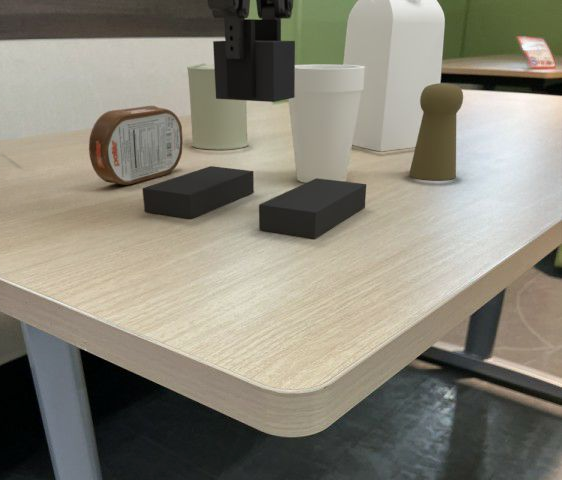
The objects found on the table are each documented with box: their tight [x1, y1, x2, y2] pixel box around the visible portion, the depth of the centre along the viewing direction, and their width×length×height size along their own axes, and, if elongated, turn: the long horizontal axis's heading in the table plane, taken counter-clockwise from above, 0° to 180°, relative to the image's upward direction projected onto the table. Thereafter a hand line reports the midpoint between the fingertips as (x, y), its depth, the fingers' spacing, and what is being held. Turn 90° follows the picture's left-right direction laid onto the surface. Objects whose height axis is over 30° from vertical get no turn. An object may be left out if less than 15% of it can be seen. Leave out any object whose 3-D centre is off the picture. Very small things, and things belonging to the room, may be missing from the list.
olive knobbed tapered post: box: [409, 82, 464, 181], centre depth 80 cm, size 6×6×11 cm
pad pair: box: [141, 165, 367, 240], centre depth 67 cm, size 20×13×2 cm, turn 62°
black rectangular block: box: [212, 40, 296, 103], centre depth 61 cm, size 6×4×5 cm
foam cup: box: [287, 63, 365, 184], centre depth 77 cm, size 10×9×13 cm
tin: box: [88, 105, 184, 186], centre depth 78 cm, size 15×3×8 cm, turn 150°
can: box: [186, 62, 249, 151], centre depth 99 cm, size 9×9×12 cm
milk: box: [342, 0, 446, 152], centre depth 98 cm, size 12×12×26 cm
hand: (255, 94), depth 62 cm, fingers closed on black rectangular block, 4 cm apart
